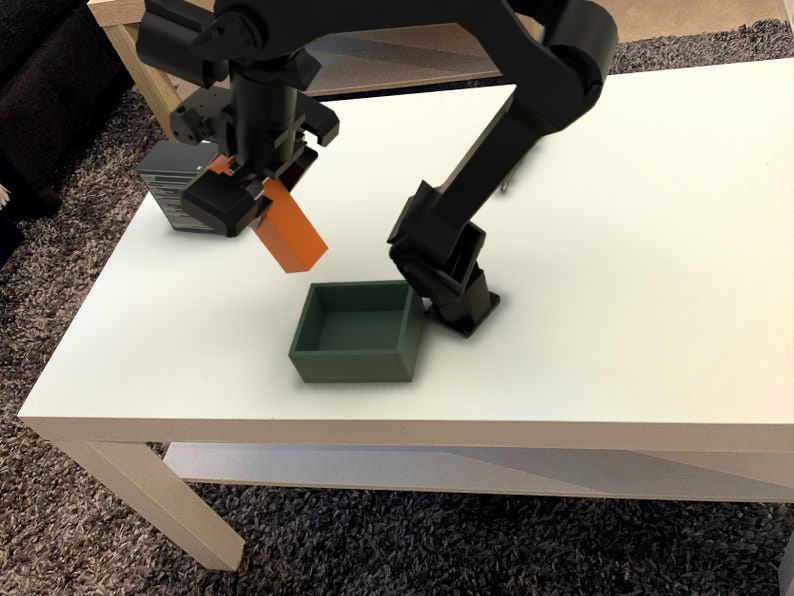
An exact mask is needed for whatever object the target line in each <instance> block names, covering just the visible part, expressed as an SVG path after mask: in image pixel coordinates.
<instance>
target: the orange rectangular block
mask: <svg viewBox="0 0 794 596" xmlns="http://www.w3.org/2000/svg"><path fill="white" fill-rule="evenodd" d="M235 161H236V158H235V157H233V156H231V157H230V158H227V157H225V156H224V155H221V156H219V157H218V158H217V159H216V160H215V161H214V162H213V163H212V164H210V165H209V166H208V167H207V168H206V169H211V170H213V171H214V172H216V173H218V174H220V173H221V172H222V171H223V172H225V173H226V174H228V175H230V176H232V175H233V174H232V173H230V172H229V170H228V168H229V166H230V165H232V164H233V163H234V162H235ZM263 185H264V192H263V195H264V196H266V197H268V198H270V199H271V200H273V201H274V202H273V204H272V206H271V208H270V209H269V211H268V213H267V215H266V216H265V218H264V220H263V222H262V223H261V225H260V227H259V228H258V229H257V230H254V229H252V228H251V230H252V232H253V233H254V234H255V235H256V236H257V238H258V239H259V240H260V242H261V243H262V244H263V246H264V247H265V248H266V249H267V251H268V252H269V253H270V255H271V256H272V257H273V259H275V261H276V262H277V264H278V265H279V266H280V267H281V269H282V270H283V272H284V273H285V274H296V273H305V272H309V271H310V270H312V268H314V266H315V265H316V264H317V263H318V262H319V260H320V259H321V258H322V257H323V256H324V255H325V254H326V252H327V251H328V250H329V246H328V245H327V244H326V243H325V241H324V240H323V238H322V237H321V236H320V234H319V233H318V231H317V230H316V228H315V227H314V226H313V224H312V223H311V221H310V220H309V218H308V217H307V216H306V214H305V213H304V211H303V210H302V209H301V207H300V206H299V204H298V203H297V202H296V200H295V198H294V197H293V196H292V195H291V193H289V192H288V190H287V189H286V188H285V186H284V185H283V183H282V182H281V180H280V179H279V178H276V179H275V180H273V179H271V178H270V177H269V178H268V179H267V180H266V181H265V182H264V183H263Z"/></svg>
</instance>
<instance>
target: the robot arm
mask: <svg viewBox="0 0 794 596" xmlns="http://www.w3.org/2000/svg"><path fill="white" fill-rule="evenodd" d="M143 2H144V8H145V9H144V10H145V11H144V13H143V15H142V17H141V20H140V23H139V27H138V30H137V40H135V43H134V46H135V52H136V56H137V58H138V60H139V62H141V63H142V64H144V65H146V66H148V67H151V68H153V69H156V70H157V71H160V72H163V73H165V74H168V75H169V76H170V75H171V76H172V77H175V78H178V79H180V80H182V81H184V82H187V83H190V84H192V85H194V86H197V87H199V88H198V89H196V90H195V91H193V92H192V93H191V94H190V95H188V96H187V97H186V98H184V99H183V100H182V101H181V102H180V103H179V104H178V105H177V106H176V108H174V110H172V111H171V112H170V113H169V128H170V131H171V132H172V133H171V134H172V135H173V137H174V139H175V140H176V141H179V142H182V143H185V144H189V145H193V146H197V145H198V144H200V143H201V142H208V143H215V144H218V153H220V154H222V155H224V156H225V157H227V158H230V157H231V156H233V157H235V158H236V161H235V162H234V163H233V164H232V165H230V166H229V168H228V170H229V172H230V173H232V174H233V175H232V176H230V175H228V174H226V173H225V172H223V171H222V172H221V173H220V174H218V173H216V172H214V171H213V170H211V169H206V170H203V171H201V172H200V173H199V174H198V175H197V176H195V177H194V178H193V179H192V180H191V181H190V182H189V183H188V184H186V185H185V186H184V187H183V188H182V189H181V190H180V191H179V198H180V205H181V211H182V212H184V213H185V214H187V215H189V216H191V217H192V218H194V219H196V220H198V221H199V222H201V223H203V224H204V225H206V226H208V227H210V228H211V229H213V230H215V231H216V232H218V233H220V234H219V235H221V236H223V237H225V238H227V239H229V238H230V239H231V238H237V237H238V236H239V235H240V234H241V233H242V232H243V231H244V230H245V229H246V228H247V227H248V228H250V229H251V230H252V229H254V230H257V229H258V228H259V227H260V225H261V223H262V222H263V220H264V218H265V216H266V215H267V213H268V211H269V209H270V208H271V206H272V204H273V202H274V201H273V200H271V199H270V198H268V197H266V196H264V195H263V192H264V185H263V183H264V182H265V181H266V180H267V179H268V178H269V177H270V178H271V179H273V180H275V179H276V178H279V179H280V180H281V182H282V183H283V185H284V186H285V188H286V189H287V190H288V192H289V193H290V194H291V193H292V192H293V191H294V189H295V188H296V186H297V185H298V184H299V182H300V181H301V180H302V179H303V178H304V176H305V175H306V173H307V172H308V171H309V169H310V168H311V167H312V165H313V164H314V163H315V162H316V161H317V160H318V159H319V152H318V151H317V150H315V149H314V148H312V147H310V146H309V145H308V141H307V140H306V133H305V132H307V133H309V134H311V135H312V136H315V137H316V144H317V145H319V147H322V148H327V147H328V146H329V144H331V143H332V142H333V141H334V140H335V139H336V138H337V137H338V136H339V135H340V126H341V125H340V124H341V120H340V118H339V116H338V115H337V113H336V111H335V110H334V109H332V108H330V107H328V106H326V105H325V104H323V103H321V102H320V101H318V100H316V99H314V98H313V97H311V96H309V95H307V94H306V93H305V92H307V91H308V89H309V88H310V87H311V85H312V84H313V82H314V81H315V80H316V79H317V77H318V75H319V74H320V73H321V71H322V70H323V65H322V63H321V62H320V61H319V60H318V58H317V57H315V56H314V55H312V54H311V53H309V52H308V50H307V49H306V47H307V46H309V45H311V44H313V43H314V42H316V41H318V40H321V39H323V38H326V37H329V36H334V35H344V34H345V35H347V34H356V33H357V34H359V33H367V32H368V33H369V32H379V31H380V32H381V31H390V30H402V29H403V30H404V29H413V28H415V29H416V28H423V27H425V28H426V27H435V26H436V27H437V26H448V25H458V26H459V27H461V28H462V29H464V30H465V31H466V32H468V33H469V34H470V35H472V36H473V37H474V38H475V39H476V41H478V43H479V45H480V46H481V47H482V48H483V50H484V52H486V54H487V56H488V57H489V58H490V60H491V62H492V63H493V65H495V67H496V69H497V70H498V72H500V74H501V75H502V76H503V77H504V78H505V79H506V80H508V81H509V82H511V83H512V84H513V85H515V87H514V90H513V91H511V93H510V94H509V96H508V97H507V99H506V100H505V101H504V103H502V105H501V107H499V109H498V110H497V112H496V113H495V115H494V116H493V117H492V118H491V120H490V121H489V122H488V123H487V125H486V126H485V128H484V129H483V130H482V132H481V133H480V135H479V136H478V137H477V138H476V139H475V141H474V143H472V145H471V146H470V148H469V149H468V150H467V152H466V153H465V155H464V156H463V157H462V158H461V160H460V161H459V163H458V164H457V165H456V166H455V168H454V169H453V171H451V173H450V175H449V176H448V177H447V178H446V180H445V181H444V182H443V183H442V184H441V185H439V186H434V187H433V186H432V185H431V184H429V183H428V182H427V181H426V180H424V179H422V180H421V182H420V183H419V185H418V188H417V189H416V191H415V193H414V194H413V195H411V196H408V198H407V199H406V202H405V204H404V206H403V208H402V210H401V211H400V214H399V215H398V218H397V219H396V222H395V223H394V225H393V227H392V229H391V232H390V233H389V235H388V237H387V239H386V244H388V245H390V247H389V250H388V257H389V259H390V260H391V261H392V263H393V264H394V265H395V267H396V269H397V271H398V272H399V273H400V274H401V276H402V277H403V279H404V280H406V281H407V282H408V283H409V284H410V286H411V287H412V288H413V289H414V291H415V292H416V293H417V294H418V296H419V297H422V299H429V302H431V304H430V305H428V307H427V308H426V310H425V312H424V315H425V316H424V318H425V319H427V320H429V321H431V322H434V323H435V324H438V325H440V327H444V328H445V329H448V330H450V331H451V332H454V333H455V334H458V335H459V336H461V337H464V338H469V337H470V336H472V335H473V333H474V332H475V331H476V330H477V329H478V328H479V326H480V325H481V324H482V323H483V322H484V321H485V320H486V318H487V317H489V315H490V314H491V313H492V312H493V311H494V309H495V308H496V307H497V306H498V305H499V304H500V303H501V300H502V299H501V296H500V295H499V294H497V293H495V292H493V291H490V290H489V288H488V287H489V286H488V282H487V279H486V274H485V271H484V269H483V268H481V267H480V265H479V262H478V258H479V256H480V253H481V251H482V249H483V248H484V246H485V242H486V238H487V234H488V233H487V232H486V231H485V230H484V229H483V228H481V227H480V226H479V225H477V224H476V223H474V222H473V221H471V220H472V219H473V217H474V216H475V215H476V214H477V213H478V211H479V210H481V208H482V207H483V206H484V204H485V203H486V202H488V200H489V199H490V198H491V197H492V196H493V194H494V193H495V192H496V191H497V189H499V188H500V187H501V186H502V183H503V181H504V180H505V179H506V178H507V177H508V176H509V174H510V173H511V172H512V171H513V170H514V169H515V168H516V166H517V165H518V164H519V163H520V162H521V161H522V159H523V158H524V159H525V158H526V156H527V155H528V154H529V152H530V151H531V150H533V148H534V147H535V146H536V145H537V144H538V142H539V141H540V140H542V139H543V138H544V137H546V136H551V135H554V134H557V133H561V132H563V131H565V130H566V129H567V128H569V127H570V126H571V125H572V124H574V123H575V122H577V121H578V120H579V119H580V118H582V117H583V116H585V115H586V114H587V113H588V112H590V111H591V110H592V109H593V108H595V106H596V104H597V103H598V101H599V99H600V98H601V96H602V92H603V90H604V86H605V84H606V81H607V77H608V75H609V71H610V70H611V66H612V62H613V60H614V57H615V54H616V52H617V51H616V50H617V48H618V45H619V41H620V37H619V31H618V26H617V24H616V21H615V19H614V17H613V15H611V13H610V12H608V10H607V9H606V8H605V7H604V6H602V5H600V4H599V3H597V2H595V1H592V0H214V1H213V2H214V3H213V5H212V6H213V7H212V10H213V11H212V10H209V9H206V8H204V7H202V6H199V5H196V4H194V3H192V2H190V1H187V0H143ZM517 14H518V15H522V16H524V17H527V18H531V19H532V20H534V21H535V22H536V23H538V24H539V25H540V26H541V27H542V29H541V31H540V33H539V35H538V38H537V39H535V38H534V37H533V36H532V35H531V33H530V32H529V30H528V28H526V27H525V25H524V23H523V22H522V21H521V19H520V17H519V16H518V15H517ZM227 78H228V79H229V88H228V87H227V88H226V87H222V86H218V85H215V84H216V82H218V83H223V82H225V81H226V80H227ZM524 159H523V160H524ZM522 162H523V161H522ZM522 162H521V163H522ZM521 163H520V164H521ZM520 164H519V165H520ZM516 169H517V168H516Z"/></svg>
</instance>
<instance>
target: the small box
mask: <svg viewBox="0 0 794 596" xmlns="http://www.w3.org/2000/svg"><path fill="white" fill-rule="evenodd" d="M221 155H222V154H220V153H218V144H215V143H211V142H207V141H202V142H201V143H200V144H198V145H197V146H193V145H189V144H185V143H182V142H179V141H178V140H176V141H175V140H158V141H157V142H156V143H155V144H154V145H153V147H152V148H151V149H150V150H149V151H148V153H146V154H145V156H144V157H143V158H142V159H141V160H140V161H139V163H138V164H137V165H136V167H134V171H135V173H136V175H138V177H139V178H140V179H141V181H142V182H143V184H144V185H145V187H146V188H147V190H148V191H149V193H150V195H151V196H152V197H153V199H154V200H155V202H156V204H157V205H158V206H159V208H160V210H161V212H162V213H163V215H164V216H165V217H166V219H167V221H168V222H169V224H170V226H171V227H172V229H173V230H174V231H176V232H177V231H178V232H191V233H203V234H216V235H221V234H220V233H218V232H216V231H215V230H213V229H211V228H210V227H208V226H206V225H204V224H203V223H201V222H199V221H198V220H196V219H194V218H192V217H191V216H189V215H187V214H185V213H184V212H182V211H181V205H180V198H179V191H180V190H181V189H182V188H183V187H184V186H185V185H186V184H188V183H189V182H190V181H191V180H192V179H193V178H194V177H195V176H197V175H198V174H199V173H200V172H201V171H203V170H206V168H207V167H208V166H209V165H210V164H212V163H213V162H214V161H215V160H216V159H217V158H218V157H219V156H221Z"/></svg>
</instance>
